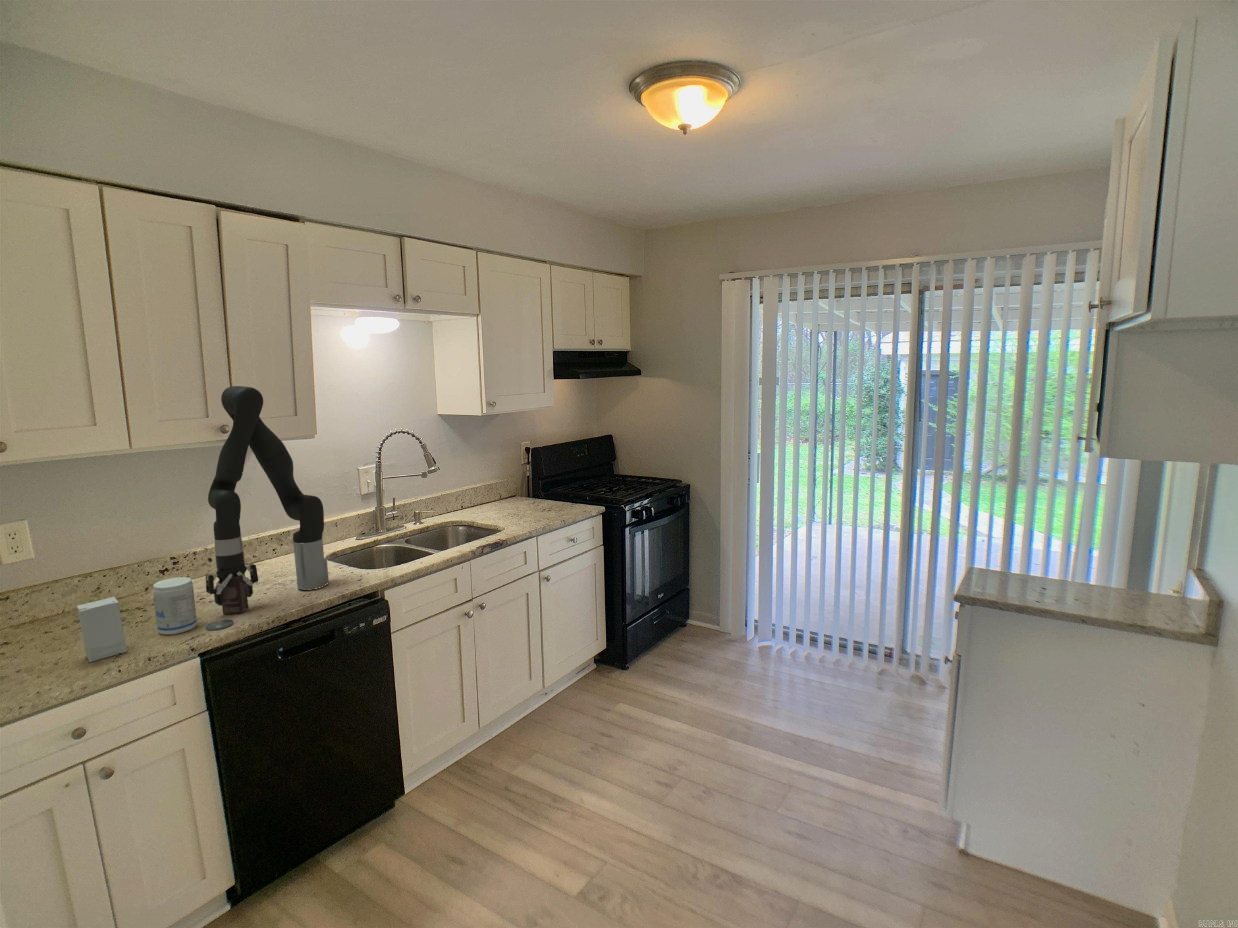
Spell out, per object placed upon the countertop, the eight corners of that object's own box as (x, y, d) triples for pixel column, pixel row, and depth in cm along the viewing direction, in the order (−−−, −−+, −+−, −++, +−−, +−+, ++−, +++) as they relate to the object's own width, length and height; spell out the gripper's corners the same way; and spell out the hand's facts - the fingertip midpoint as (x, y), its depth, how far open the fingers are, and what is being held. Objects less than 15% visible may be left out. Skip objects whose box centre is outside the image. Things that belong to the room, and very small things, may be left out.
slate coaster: (227, 619, 188) (226, 617, 188) (237, 624, 184) (237, 622, 184) (201, 627, 182) (201, 625, 182) (212, 632, 178) (211, 630, 178)
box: (249, 608, 197) (245, 572, 195) (242, 613, 192) (238, 577, 191) (229, 609, 196) (225, 573, 194) (222, 614, 192) (218, 578, 190)
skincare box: (123, 646, 170) (116, 595, 168) (127, 652, 166) (120, 600, 164) (84, 656, 164) (76, 603, 162) (87, 663, 160) (79, 609, 158)
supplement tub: (150, 632, 179) (144, 584, 177) (184, 620, 187) (179, 574, 185) (170, 638, 175) (164, 589, 173) (204, 625, 184) (199, 578, 181)
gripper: (247, 544, 199) (252, 591, 202) (198, 555, 188) (204, 605, 190) (259, 547, 195) (263, 596, 197) (209, 558, 183) (215, 610, 186)
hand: (234, 600), depth 194 cm, fingers open, 8 cm apart
